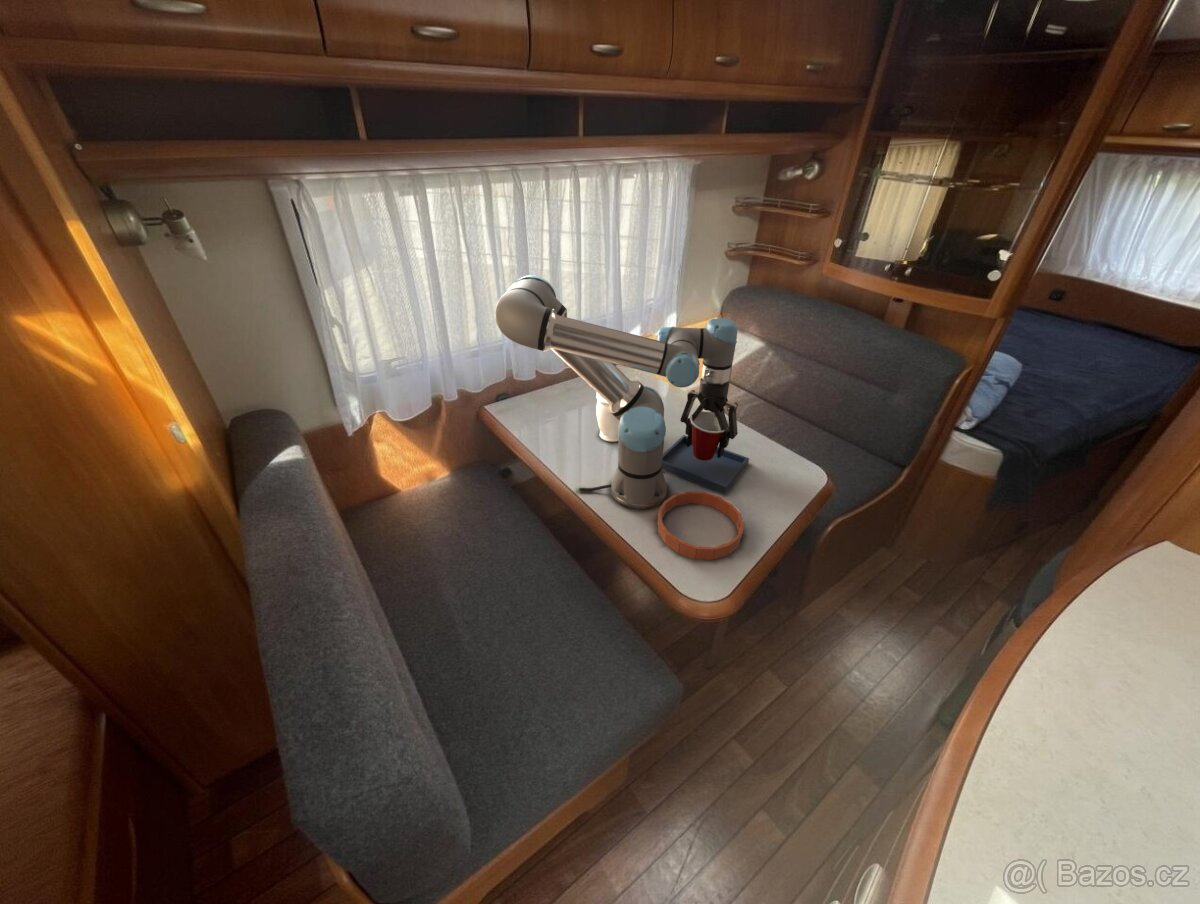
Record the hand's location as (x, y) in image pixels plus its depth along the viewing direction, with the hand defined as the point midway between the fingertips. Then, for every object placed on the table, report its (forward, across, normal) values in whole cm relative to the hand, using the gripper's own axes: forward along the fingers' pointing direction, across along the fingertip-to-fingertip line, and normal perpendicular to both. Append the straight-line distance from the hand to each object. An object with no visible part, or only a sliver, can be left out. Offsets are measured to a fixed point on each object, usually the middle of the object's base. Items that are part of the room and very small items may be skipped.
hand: (704, 449), depth 138 cm
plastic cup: (+2, 0, 0) cm, 2 cm away
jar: (+6, -31, -2) cm, 32 cm away
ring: (+6, +11, -24) cm, 27 cm away
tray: (+6, 0, 0) cm, 6 cm away
